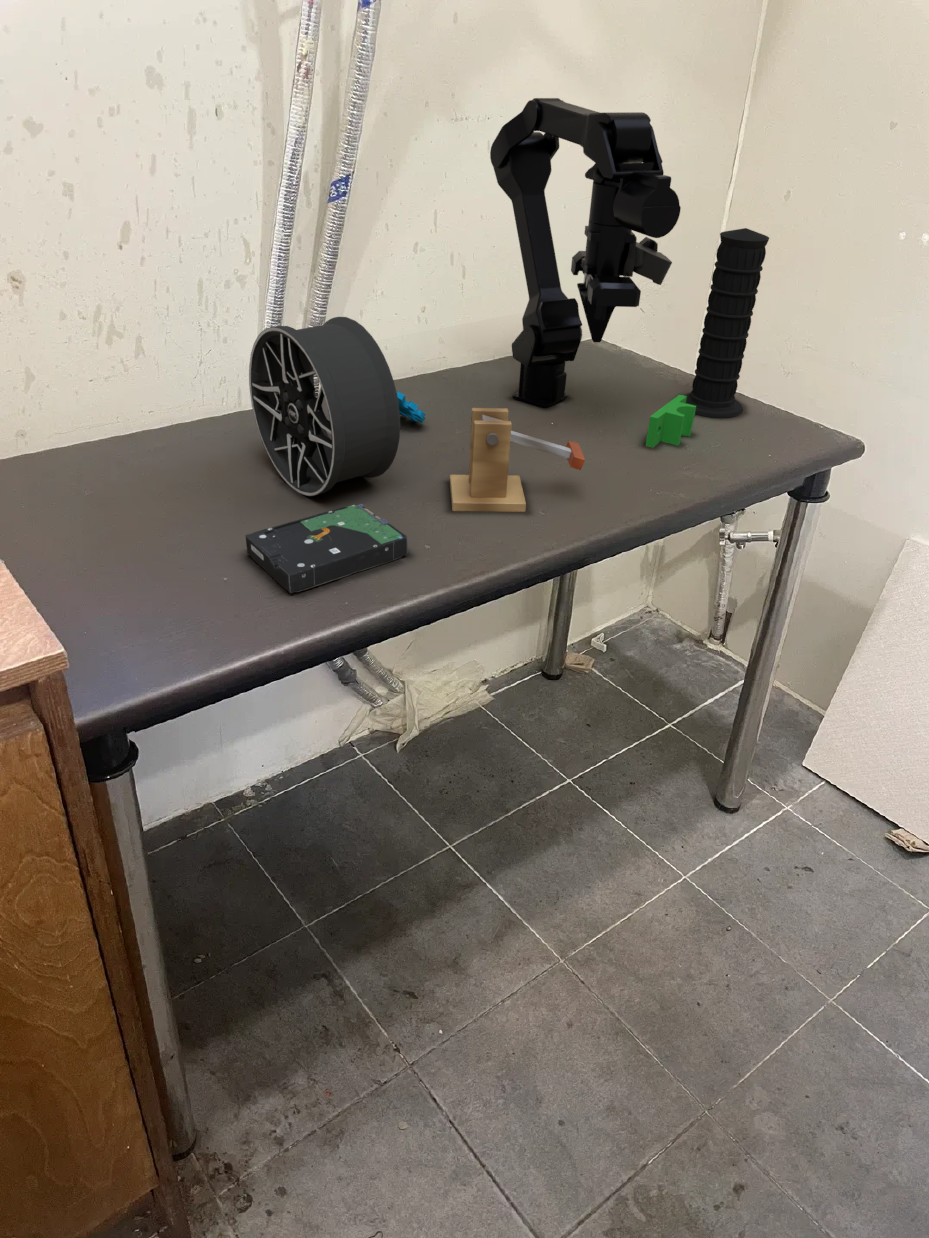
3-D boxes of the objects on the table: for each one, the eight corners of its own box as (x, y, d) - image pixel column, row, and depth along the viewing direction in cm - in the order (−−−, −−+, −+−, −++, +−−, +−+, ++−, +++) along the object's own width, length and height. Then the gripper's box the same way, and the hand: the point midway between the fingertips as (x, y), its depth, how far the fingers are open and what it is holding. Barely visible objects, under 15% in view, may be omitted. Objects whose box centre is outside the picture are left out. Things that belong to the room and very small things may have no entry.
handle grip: (678, 413, 142) (744, 421, 140) (711, 232, 127) (785, 238, 125) (679, 391, 150) (741, 398, 148) (709, 219, 135) (779, 224, 133)
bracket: (518, 483, 119) (525, 404, 113) (525, 512, 112) (532, 429, 106) (449, 482, 118) (452, 402, 112) (452, 511, 111) (455, 428, 105)
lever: (573, 456, 115) (580, 440, 114) (579, 474, 111) (586, 456, 110) (475, 427, 112) (481, 409, 111) (477, 443, 108) (484, 425, 107)
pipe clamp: (669, 453, 129) (675, 423, 126) (645, 447, 131) (649, 416, 128) (698, 428, 137) (703, 399, 134) (674, 422, 138) (679, 393, 136)
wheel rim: (256, 462, 121) (242, 308, 110) (316, 446, 126) (308, 298, 114) (337, 521, 108) (330, 354, 97) (400, 501, 113) (401, 340, 102)
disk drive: (291, 599, 94) (409, 556, 102) (289, 575, 93) (409, 534, 100) (245, 556, 101) (359, 520, 108) (243, 534, 99) (358, 499, 107)
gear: (440, 420, 131) (395, 379, 124) (418, 455, 131) (372, 416, 124) (398, 406, 139) (353, 367, 132) (377, 439, 138) (331, 401, 132)
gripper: (689, 239, 112) (668, 365, 120) (655, 210, 127) (639, 323, 136) (599, 236, 111) (585, 363, 120) (576, 207, 126) (565, 321, 135)
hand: (596, 341), depth 128 cm, fingers closed
